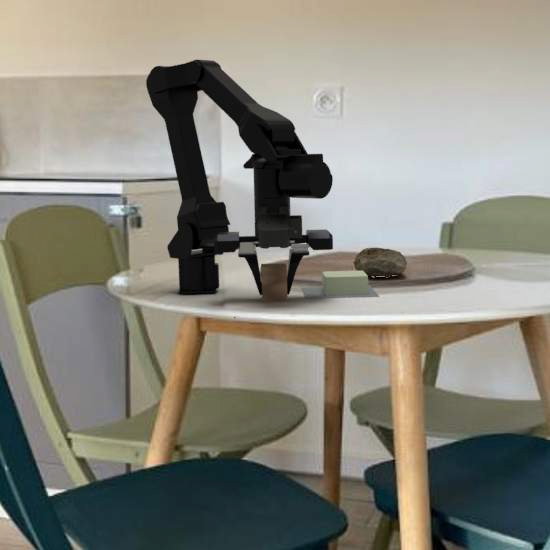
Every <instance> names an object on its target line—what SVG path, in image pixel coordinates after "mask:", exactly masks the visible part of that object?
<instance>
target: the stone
mask: <svg viewBox="0 0 550 550" xmlns="http://www.w3.org/2000/svg"><path fill="white" fill-rule="evenodd" d="M407 265H408V261H407V259H406V257H405V256H404V255H403V254H402V252H400V251H397V250H396V249H395V250H394V249H389V248H383V247H367V248H364V249H362V250H360V252H358V254H357V255H356V256H355V259H354V261H353V266H354V269H355V271H364V272H365V273H366V274H367V276H374V277H376V276H385V277H389V276H392V275H399V276H400V275H402V273H404V272H405V270H406V269H407Z"/></svg>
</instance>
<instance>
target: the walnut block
mask: <svg viewBox="0 0 550 550" xmlns="http://www.w3.org/2000/svg"><path fill="white" fill-rule="evenodd" d="M260 270H261V271H260V277H261V283H262V295H261V301H262V302H261V303H273V302H274V303H276V302H277V303H279V302H283V303H285V302H288V294H287V271H288V265H287V263H286V262H285V263H283V262H280V263H279V262H278V263H260Z"/></svg>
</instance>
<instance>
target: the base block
mask: <svg viewBox="0 0 550 550" xmlns="http://www.w3.org/2000/svg"><path fill="white" fill-rule="evenodd" d="M321 283H322V285H321V287H322V289H323V291H324V293H325V295H361V294H368V285H369V277H368V276H367V274H366V273H365V272H364V271H357V270H341V271H340V270H337V271H336V270H335V271H330V270H329V271H321Z"/></svg>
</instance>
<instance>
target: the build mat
mask: <svg viewBox="0 0 550 550" xmlns="http://www.w3.org/2000/svg"><path fill="white" fill-rule="evenodd" d="M300 288H301V291H302V293H303V297H304V298H305V300H311V299H312V300H313V299H345V298H348V299H349V298H353V299H354V298H379V297H380V295H379V294H378V293H377V292H376V291H375V290H374V289H373V287H372V286H371V285H370V284H368V294H361V295H325V293H324V291H323V289H322V286H305V287H304V286H303V287H302V286H301V287H300Z"/></svg>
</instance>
